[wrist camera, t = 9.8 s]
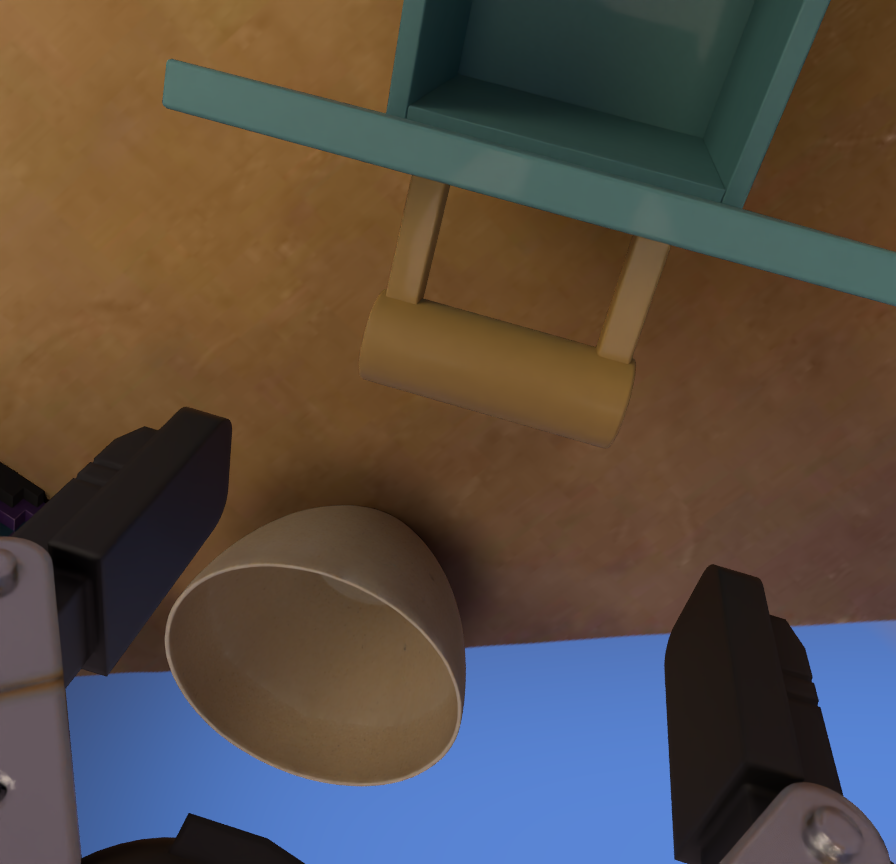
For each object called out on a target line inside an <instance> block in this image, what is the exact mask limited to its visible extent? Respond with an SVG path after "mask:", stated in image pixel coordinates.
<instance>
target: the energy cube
mask: <svg viewBox="0 0 896 864" xmlns="http://www.w3.org/2000/svg"><path fill="white" fill-rule="evenodd" d="M45 504H46V503H44V491H43V490H42V489H40V488H39V487H37V486H36V485H34V484H32V483H31V482H29V481H28V480H26V479H25V478H23V477H22V476H20V475H19V474H17V473H16V472H14V471H13V470H11V469H10V468H8V467H6V466H5V465H3V464H2V463H0V537H10V536H12V535H13V534H14V533H15V532H16V531H17V530H18V529H19V528H20V527H21V526H22V525H24V524H25V523H26V522H27V521H28V520H29V519H30V518H31V517H32V516H33V515H34V514H35V513H36V512H37V511H39V510H40V509H41V508H42V507H43V506H44V505H45Z"/></svg>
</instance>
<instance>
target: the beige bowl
mask: <svg viewBox="0 0 896 864" xmlns="http://www.w3.org/2000/svg"><path fill="white" fill-rule="evenodd" d="M165 649H166V655H167V660H168V663H169V666H170V669H171V672H172V675H173V677H174V679H175V681H176V683H177V685H178V687H179V688H180V690H181V692H182V693H183V695H184V696H185V698H186V699H187V701H188V702H189V703H190V705H191V706H192V707H193V708H194V710H195V711H196V712H197V713H198V714H199V715H200V716H201V717H202V718H203V719H204V720H205V722H206V723H207V724H208V725H210V726H211V727H212V728H213V729H214V730H215V731H216V732H217V733H219V734H220V735H221V736H222V737H224V738H225V739H226V740H228V741H229V742H230V743H232V744H233V745H235V746H236V747H238V748H239V749H241V750H242V751H244V752H246V753H248V754H249V755H251V756H253V757H255V758H256V759H258V760H260V761H262V762H264V763H266V764H268V765H271V766H273V767H275V768H278V769H280V770H283V771H285V772H288V773H290V774H293V775H296V776H299V777H303V778H306V779H310V780H314V781H319V782H324V783H329V784H336V785H346V786H376V785H385V784H391V783H395V782H399V781H403V780H406V779H408V778H412V777H414V776H416V775H418V774H420V773H422V772H424V771H426V770H427V769H429V768H430V767H432V766H433V765H435V764H436V763H437V762H438V761H439V760H440V759H442V758H443V757H444V756H445V754H446V753H447V752H448V751H449V749H450V748H451V746H452V745H453V743H454V741H455V739H456V737H457V734H458V732H459V728H460V724H461V719H462V713H463V706H464V696H465V682H466V679H465V678H466V664H465V646H464V636H463V630H462V623H461V619H460V615H459V611H458V607H457V604H456V601H455V598H454V594H453V592H452V589H451V587H450V584H449V582H448V580H447V577H446V575H445V574H444V572H443V570H442V568H441V566H440V565H439V563H438V561H437V560H436V558H435V556H434V555H433V554H432V552H431V551H430V550H429V548H428V547H427V546H426V544H425V543H424V542H423V541H422V540H421V539H420V538H419V537H418V536H417V535H416V534H415V533H414V532H413V531H412V530H411V529H410V528H409V527H408V526H407V525H405V524H404V523H403V522H401V521H400V520H398V519H397V518H395V517H393V516H391V515H389V514H387V513H385V512H382V511H380V510H376V509H373V508H368V507H362V506H354V505H336V506H325V507H317V508H312V509H307V510H303V511H299V512H296V513H293V514H290V515H287V516H284V517H282V518H279V519H277V520H275V521H273V522H270V523H268V524H266V525H264V526H262V527H260V528H259V529H257V530H255V531H253V532H251V533H250V534H248V535H247V536H245V537H244V538H242V539H240V540H239V541H237V542H236V543H235V544H233V545H232V546H230V547H229V548H228V549H227V550H225V551H224V552H223V553H221V554H220V555H219V556H218V557H217V558H216V559H214V560H213V561H212V562H211V563H210V564H209V565H208V566H207V567H206V568H205V569H204V570H203V571H202V572H200V573H199V574H198V576H197V577H196V578H195V579H194V580H193V581H192V582H191V583H190V584H189V585H188V586H187V588H186V589H185V590H184V591H183V593H182V594H181V595H180V597H179V598H178V599H177V601H176V602H175V604H174V605H173V607H172V609H171V611H170V614H169V617H168V620H167V624H166V631H165Z"/></svg>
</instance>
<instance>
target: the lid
mask: <svg viewBox="0 0 896 864" xmlns="http://www.w3.org/2000/svg"><path fill="white" fill-rule="evenodd" d="M163 105H164V106H165V107H166V108H168V109H172V110H175V111H179V112H183V113H186V114H190V115H194V116H197V117H201V118H205V119H208V120H212V121H216V122H219V123H223V124H227V125H230V126H234V127H238V128H242V129H245V130H249V131H253V132H256V133H260V134H264V135H267V136H271V137H275V138H278V139H282V140H286V141H289V142H293V143H297V144H300V145H304V146H308V147H311V148H315V149H319V150H322V151H326V152H330V153H334V154H337V155H341V156H345V157H348V158H352V159H356V160H359V161H363V162H367V163H370V164H374V165H378V166H381V167H385V168H389V169H392V170H396V171H400V172H403V173H407V174H411V175H412V177H411V182H410V186H409V191H408V195H407V200H406V204H405V209H404V213H403V218H402V223H401V227H400V232H399V236H398V241H397V245H396V250H395V254H394V259H393V263H392V268H391V273H390V277H389V282H388V286H387V289H384V290H383V291H382V292H381V293H380V294H379V296H378V298H377V299H376V301H375V303H374V305H373V308H372V310H371V313H370V316H369V319H368V322H367V325H366V328H365V332H364V336H363V340H362V345H361V350H360V357H359V374H360V377H361V378H363V379H365V380H368V381H372V382H375V383H379V384H382V385H385V386H389V387H392V388H396V389H399V390H403V391H406V392H410V393H413V394H417V395H420V396H424V397H427V398H431V399H434V400H438V401H441V402H445V403H448V404H452V405H455V406H458V407H462V408H465V409H469V410H472V411H476V412H479V413H483V414H486V415H490V416H493V417H497V418H500V419H504V420H507V421H511V422H514V423H518V424H521V425H525V426H528V427H531V428H535V429H538V430H542V431H545V432H549V433H552V434H556V435H559V436H563V437H566V438H570V439H573V440H577V441H580V442H584V443H587V444H591V445H594V446H598V447H601V448H609V447H610V445H611V444H612V443H613V441H614V440H615V438H616V436H617V434H618V432H619V429H620V427H621V424H622V422H623V419H624V416H625V413H626V410H627V407H628V404H629V401H630V397H631V393H632V389H633V385H634V380H635V373H636V362H635V359H633V358H632V356H633V353H634V350H635V348H636V345H637V342H638V339H639V336H640V333H641V330H642V328H643V325H644V322H645V319H646V316H647V313H648V310H649V307H650V305H651V302H652V299H653V296H654V293H655V290H656V287H657V285H658V282H659V279H660V276H661V273H662V270H663V267H664V264H665V262H666V259H667V256H668V253H669V250H670V247H671V245H672V246H676V247H680V248H683V249H687V250H691V251H694V252H698V253H702V254H705V255H709V256H713V257H716V258H720V259H724V260H727V261H731V262H735V263H738V264H742V265H746V266H749V267H753V268H757V269H761V270H764V271H768V272H772V273H775V274H779V275H783V276H786V277H790V278H794V279H797V280H801V281H805V282H808V283H812V284H816V285H819V286H823V287H827V288H830V289H834V290H838V291H842V292H845V293H849V294H853V295H856V296H860V297H864V298H867V299H871V300H875V301H878V302H882V303H886V304H889V305H893V306H896V252H894V251H890V250H887V249H883V248H880V247H876V246H873V245H869V244H865V243H862V242H858V241H855V240H851V239H848V238H844V237H840V236H837V235H833V234H830V233H826V232H823V231H819V230H816V229H812V228H808V227H805V226H801V225H798V224H794V223H791V222H787V221H783V220H780V219H776V218H773V217H769V216H766V215H762V214H758V213H755V212H751V211H748V210H744V209H741V208H737V207H733V206H729V205H726V204H722V203H718V202H714V201H711V200H707V199H703V198H699V197H696V196H692V195H688V194H685V193H681V192H677V191H673V190H670V189H666V188H662V187H658V186H655V185H651V184H647V183H643V182H640V181H636V180H632V179H629V178H625V177H621V176H617V175H614V174H610V173H606V172H602V171H599V170H595V169H591V168H587V167H584V166H580V165H576V164H572V163H569V162H565V161H561V160H558V159H554V158H550V157H546V156H543V155H539V154H535V153H531V152H528V151H524V150H520V149H516V148H513V147H509V146H505V145H501V144H498V143H494V142H490V141H487V140H483V139H479V138H475V137H472V136H468V135H464V134H460V133H457V132H453V131H449V130H445V129H442V128H438V127H434V126H431V125H427V124H423V123H419V122H416V121H412V120H408V119H404V118H401V117H397V116H393V115H389V114H386V113H382V112H378V111H374V110H370V109H366V108H362V107H358V106H354V105H350V104H347V103H343V102H339V101H335V100H331V99H327V98H323V97H319V96H315V95H311V94H307V93H304V92H300V91H296V90H292V89H288V88H284V87H280V86H276V85H272V84H268V83H264V82H260V81H257V80H253V79H249V78H245V77H241V76H237V75H233V74H229V73H225V72H221V71H217V70H214V69H210V68H206V67H202V66H198V65H194V64H190V63H186V62H182V61H178V60H174V59H169V60H168V61H167V63H166V73H165V82H164V92H163ZM450 185H451V186H455V187H459V188H462V189H466V190H470V191H473V192H477V193H481V194H484V195H488V196H492V197H495V198H499V199H503V200H507V201H510V202H514V203H518V204H521V205H525V206H529V207H532V208H536V209H540V210H543V211H547V212H551V213H554V214H558V215H562V216H565V217H569V218H573V219H576V220H580V221H584V222H588V223H591V224H595V225H599V226H602V227H606V228H610V229H613V230H617V231H621V232H624V233H628V234H632V235H633V236H632V239H631V242H630V245H629V248H628V251H627V254H626V257H625V260H624V263H623V267H622V270H621V273H620V276H619V279H618V282H617V285H616V288H615V291H614V294H613V297H612V300H611V303H610V306H609V309H608V312H607V315H606V318H605V321H604V324H603V327H602V330H601V333H600V336H599V339H598V342H597V345H596V347H594V346H590V345H586V344H583V343H579V342H576V341H572V340H569V339H565V338H561V337H558V336H554V335H551V334H547V333H544V332H540V331H536V330H533V329H529V328H526V327H522V326H519V325H515V324H512V323H508V322H504V321H501V320H497V319H494V318H490V317H487V316H483V315H479V314H476V313H472V312H469V311H465V310H462V309H458V308H454V307H451V306H447V305H444V304H440V303H437V302H433V301H430V300H426V299H423V297H424V293H425V289H426V285H427V280H428V276H429V272H430V268H431V264H432V260H433V255H434V251H435V247H436V243H437V239H438V234H439V230H440V226H441V222H442V218H443V213H444V209H445V205H446V201H447V197H448V192H449V188H450Z"/></svg>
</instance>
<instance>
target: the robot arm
mask: <svg viewBox="0 0 896 864" xmlns="http://www.w3.org/2000/svg"><path fill="white" fill-rule="evenodd" d="M231 439H232V425H231V422H230V420H229V419H226V418H223V417H219V416H216V415H213V414H209V413H206V412H203V411H199V410H196V409H193V408H189V407H183V408H181V409H180V410H179V411H178V412H177V413H176V414H175V415H174V416H173V417H172V418H171V419H170V420H169V421H168V422H167V423H166V424H165V425H164V426H163V427H162V428H161V429H160V430H155V429H152V428H148V427H145V426H144V427H142V428H139V429H137V430H135V431H133V432H130V433H128V434H126V435H123V436H121V437H119V438H117V439H115V440H113V441H112V442H111V443H110V444H109V445H108V446H107V447H106V448H105V449H104V450H103V451H102V452H101V453H100V454H98V455H97V456H96V457H95V458H94V461H93V463H91V462H90V463H89V464H88V465H87V466H86V467H85V468H83V469H82V470H81V471H80V472H79V473H78V475H77V478H76V479H75V478H73V479H72V480H71V481H70V482H68V483H67V484H66V485H65V486H64V487H63V488H62V489H61V490H60V491H59V492H58V493H57V494H56V495H55V496H53V497H52V498H51V499H50V500H49V501H48V502H47V503H46V504H45V505H44V506H43V507H42V508H41V509H40V510H39V511H37V512H36V513H35V514H34V515H33V516H32V517H31V518H30V519H29V520H28V521H27V522H26V523H25V524H24V525H22V526H21V527H20V528H19V529H18V530H17V531H16V532H15V533H14V534H13V535H12V536H10V537H0V864H305V863H303V862H302V861H300V860H299V859H297V858H296V857H294V856H293V855H291V854H290V853H288V852H287V851H285V850H284V849H282V848H281V847H279V846H278V845H276V844H275V843H273V842H272V841H270V840H269V839H267V838H264V837H261V836H258V835H255V834H252V833H249V832H246V831H243V830H240V829H237V828H234V827H231V826H228V825H224V824H221V823H218V822H215V821H212V820H209V819H206V818H203V817H200V816H197V815H194V814H191V813H189V814H188V816H187V818H186V819H185V821H184V823H183V825H182V827H181V829H180V831H179V833H178V835H177V837H176V838H168V837H162V838H151V839H141V840H136V841H132V842H127V843H122V844H118V845H115V846H112V847H109V848H106V849H103V850H100V851H97V852H94V853H92V854H90V855H88V856H85V857H83V858H82V855H81V845H80V836H79V825H78V815H77V805H76V795H75V784H74V773H73V763H72V753H71V742H70V732H69V722H68V711H67V701H66V690H65V689H66V687H67V686H68V685H69V683H70V682H71V681H72V680H73V678H74V677H75V676H76V674H77V673H78V672H79V671H80V669H84V670H88V671H91V672H94V673H97V674H100V675H104V676H108V674H109V673H110V671H111V670H112V669H113V667H114V666H115V665H116V663H117V662H118V660H119V659H120V658H121V656H122V655H123V654H124V652H125V651H126V649H127V648H128V647H129V645H130V644H131V643H132V641H133V640H134V638H135V637H136V636H137V634H138V633H139V632H140V630H141V629H142V627H143V626H144V625H145V623H146V622H147V621H148V619H149V618H150V616H151V615H152V614H153V612H154V611H155V610H156V608H157V607H158V605H159V604H160V603H161V601H162V600H163V599H164V597H165V596H166V594H167V593H168V592H169V590H170V589H171V588H172V586H173V585H174V583H175V582H176V581H177V579H178V578H179V577H180V575H181V574H182V572H183V571H184V570H185V568H186V567H187V566H188V564H189V563H190V561H191V560H192V559H193V557H194V556H195V555H196V553H197V552H198V550H199V549H200V548H201V546H202V545H203V544H204V542H205V541H206V539H207V538H208V537H209V535H210V534H211V532H212V531H213V530H214V528H215V527H216V525H217V523H218V522H219V519H220V517H221V515H222V513H223V510H224V507H225V504H226V500H227V494H228V483H229V468H230V454H231ZM664 666H665V687H666V706H667V725H668V744H669V763H670V782H671V800H672V820H673V839H674V858H675V860H678V861H681V862H684V863H687V864H894V863H893V862H891V861H890V858H889V854H888V851H887V848H886V846H885V844H884V841H883V839H882V838H881V836H880V834H879V832H878V831H877V829H876V828H875V827H874V825H873V824H872V822H871V821H870V820H869V819H868V818H867V817H866V815H864V813H863V812H862V811H861V810H860V809H859V808H858V807H856V806H855V805H854V804H853V803H851V802H850V801H849V800H847V799H846V798H845V797H843V793H842V789H841V786H840V781H839V777H838V774H837V770H836V766H835V763H834V758H833V755H832V750H831V747H830V743H829V739H828V735H827V731H826V727H825V723H824V720H823V716H822V712H821V708H820V707H818V702H819V700H818V697H817V692H816V688H815V685H814V683H812V673H811V669H810V666H809V661H808V658H807V654H806V650H805V648H804V646H803V645H802V643H801V642H800V640H799V639H798V637H797V636H796V634H795V633H794V631H793V630H792V628H791V627H790V625H789V624H788V622H787V621H786V619H782V618H779V617H776V616H772V615H769V610H768V606H767V601H766V597H765V592H764V587H763V584H762V581H761V580H760V579H759V578H757V577H754V576H751V575H747V574H744V573H741V572H737V571H734V570H730V569H727V568H724V567H720V566H717V565H714V564H712V565H710V566H708V567H707V568H706V570H705V571H704V573H703V574H702V576H701V578H700V580H699V582H698V583H697V585H696V587H695V589H694V591H693V592H692V594H691V596H690V598H689V600H688V602H687V603H686V605H685V607H684V609H683V611H682V613H681V614H680V616H679V618H678V620H677V622H676V623H675V625H674V627H673V629H672V632H671V634H670V637H669V640H668V644H667V649H666V654H665V665H664Z"/></svg>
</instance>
